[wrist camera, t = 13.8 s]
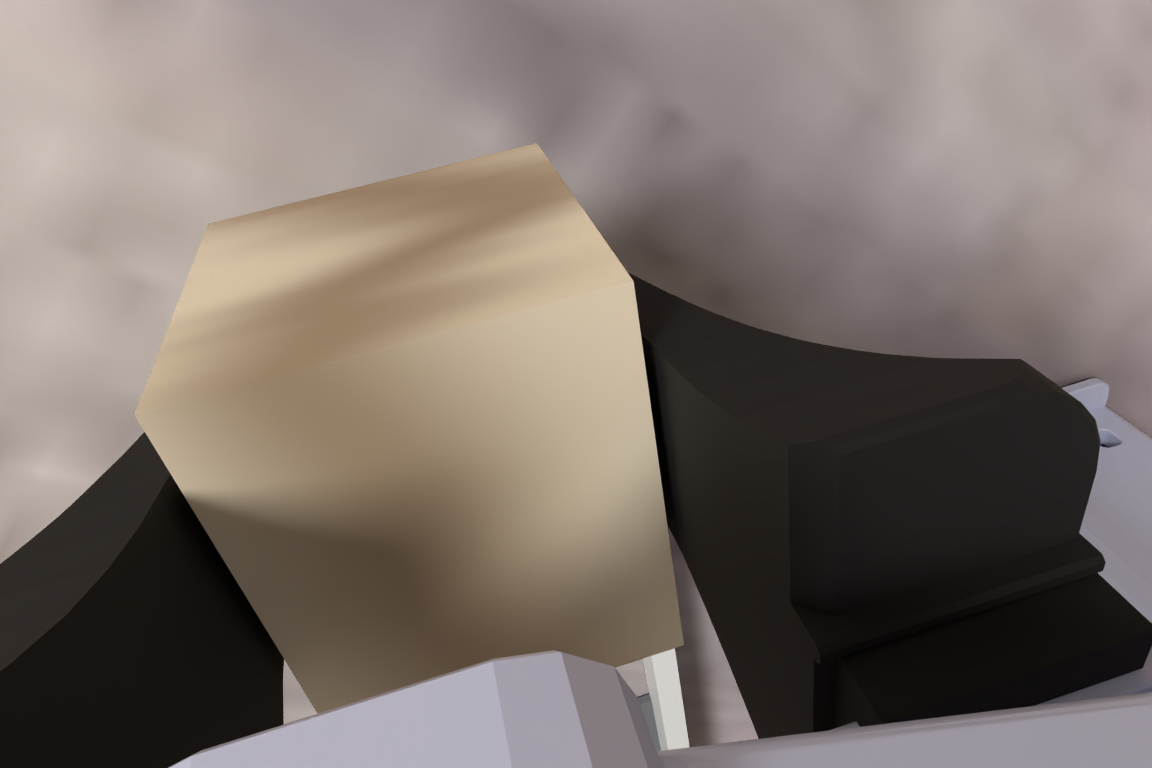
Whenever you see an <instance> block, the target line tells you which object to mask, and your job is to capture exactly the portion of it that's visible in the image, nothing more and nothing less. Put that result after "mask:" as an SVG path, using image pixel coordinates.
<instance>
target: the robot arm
mask: <svg viewBox="0 0 1152 768" xmlns="http://www.w3.org/2000/svg"><path fill="white" fill-rule="evenodd" d="M627 273H628V272H627ZM628 274H629V275H630V277H631V278H632V280H633V281H634V288H635V295H636V303H637V310H638V317H639V324H640V331H641V339H642V346H643V353H644V360H645V367H646V375H647V382H648V389H649V396H650V403H651V411H652V418H653V425H654V432H655V439H656V447H657V454H658V461H659V468H660V475H661V483H662V490H663V497H664V504H665V511H666V519H667V525H668V527H669V529H670V530H671V532H672V534H673V536H674V538H675V540H676V542H677V544H678V546H679V548H680V550H681V552H682V554H683V556H684V558H685V561H686V563H687V565H688V568H689V570H690V572H691V574H692V577H693V579H694V581H695V584H696V586H697V588H698V591H699V593H700V595H701V598H702V600H703V602H704V605H705V607H706V609H707V612H708V614H709V617H710V619H711V621H712V624H713V626H714V629H715V631H716V634H717V636H718V638H719V641H720V643H721V646H722V648H723V650H724V653H725V655H726V658H727V660H728V662H729V665H730V667H731V670H732V672H733V675H734V677H735V680H736V682H737V685H738V687H739V690H740V693H741V695H742V698H743V700H744V703H745V705H746V708H747V710H748V713H749V715H750V718H751V720H752V723H753V725H754V728H755V730H756V733H757V735H758V738H759V739H755V740H746V741H738V742H730V743H722V744H713V745H705V746H697V747H688V748H680V749H672V750H663V751H656V748H655V746H654V743H653V740H652V737H651V734H650V731H649V729H648V726H647V723H646V720H645V717H644V714H643V712H642V709H641V706H640V703H639V700H638V698H637V697H636V695H635V694H634V693H633V691H632V690H631V689H630V687H629V686H628V685H627V683H626V682H625V681H624V679H623V678H622V677H621V675H620V674H619V673H618V671H617V670H616V669H615V667H614V666H610V665H607V664H603V663H599V662H596V661H592V660H588V659H585V658H581V657H577V656H574V655H570V654H566V653H563V652H559V651H554V650H553V651H546V652H539V653H531V654H524V655H517V656H510V657H502V658H495V659H491V660H488V661H485V662H481V663H478V664H475V665H472V666H469V667H465V668H462V669H459V670H456V671H453V672H450V673H446V674H443V675H440V676H437V677H434V678H430V679H427V680H424V681H421V682H418V683H415V684H411V685H408V686H405V687H402V688H399V689H395V690H392V691H389V692H386V693H383V694H380V695H376V696H373V697H370V698H367V699H364V700H360V701H357V702H354V703H351V704H348V705H344V706H341V707H338V708H335V709H332V710H329V711H325V712H322V713H319V714H316V715H313V716H309V717H306V718H303V719H300V720H297V721H294V722H290V723H287V724H284V725H283V666H284V658H283V656H282V655H281V653H280V651H279V650H278V648H277V646H276V645H275V643H274V642H273V640H272V638H271V637H270V635H269V633H268V632H267V630H266V628H265V627H264V625H263V624H262V622H261V620H260V619H259V617H258V615H257V614H256V612H255V611H254V609H253V607H252V606H251V604H250V602H249V601H248V599H247V598H246V596H245V594H244V593H243V591H242V589H241V588H240V586H239V584H238V583H237V581H236V580H235V578H234V576H233V575H232V573H231V571H230V570H229V568H228V567H227V565H226V563H225V562H224V560H223V558H222V557H221V555H220V554H219V552H218V550H217V549H216V547H215V545H214V544H213V542H212V541H211V539H210V537H209V536H208V534H207V532H206V531H205V529H204V527H203V526H202V524H201V523H200V521H199V519H198V518H197V516H196V514H195V513H194V511H193V510H192V508H191V506H190V505H189V503H188V501H187V500H186V498H185V497H184V495H183V493H182V492H181V490H180V488H179V487H178V485H177V483H176V482H175V480H174V479H173V477H172V475H171V474H170V472H169V470H168V469H167V467H166V466H165V464H164V462H163V461H162V459H161V457H160V456H159V454H158V453H157V451H156V449H155V448H154V446H153V444H152V443H151V441H150V439H149V438H148V436H147V435H146V433H145V432H144V433H143V434H142V435H141V436H140V437H139V439H138V440H137V441H136V442H135V443H134V444H133V445H132V446H131V447H130V448H129V449H128V450H127V451H126V452H125V453H124V454H123V455H122V456H121V457H120V458H119V459H118V460H117V461H116V462H115V463H114V464H113V465H112V466H111V467H110V468H109V469H108V470H107V471H106V472H105V473H104V474H103V475H102V476H101V477H100V478H99V479H98V480H97V481H96V482H95V483H94V484H93V485H92V486H91V487H90V488H89V489H88V490H87V491H85V492H84V493H83V494H82V495H81V496H80V497H79V498H78V499H77V500H76V501H75V502H74V503H73V504H72V505H71V506H70V507H69V508H68V509H66V510H65V511H64V512H63V513H62V514H61V515H60V516H59V517H57V518H56V519H55V520H54V521H53V522H52V523H50V524H49V525H48V526H47V527H46V528H45V529H43V530H42V531H41V532H40V533H38V534H37V535H36V536H35V537H34V538H32V539H31V540H30V541H29V542H27V543H26V544H25V545H24V546H22V547H21V548H20V549H19V550H18V551H16V552H15V553H14V554H13V555H11V556H10V557H9V558H7V559H6V560H5V561H3V562H2V563H1V564H0V768H1152V439H1151V438H1150V437H1148V436H1147V435H1145V434H1144V433H1143V432H1141V431H1140V430H1138V429H1137V428H1135V427H1134V426H1133V425H1131V424H1130V423H1128V422H1127V421H1126V420H1124V419H1123V418H1121V417H1120V416H1118V415H1117V414H1116V413H1114V412H1113V411H1111V410H1110V409H1109V408H1107V407H1105V405H1106V402H1107V398H1108V395H1109V386H1108V384H1107V383H1105V382H1104V381H1102V380H1101V379H1098V378H1093V379H1089V380H1086V381H1082V382H1079V383H1076V384H1072V385H1069V386H1066V387H1062V388H1060V387H1059V386H1058V385H1056V384H1055V383H1054V382H1052V381H1051V380H1049V379H1048V378H1047V377H1045V376H1044V375H1043V374H1041V373H1040V372H1038V371H1037V370H1036V369H1034V368H1033V367H1031V366H1030V365H1029V364H1027V363H1026V362H1024V361H1023V360H1021V359H951V358H926V357H914V356H901V355H889V354H880V353H872V352H864V351H856V350H850V349H845V348H839V347H833V346H827V345H822V344H816V343H811V342H807V341H802V340H798V339H793V338H790V337H786V336H782V335H779V334H775V333H771V332H768V331H764V330H761V329H757V328H754V327H751V326H748V325H745V324H742V323H739V322H736V321H734V320H731V319H728V318H726V317H723V316H720V315H718V314H715V313H712V312H710V311H708V310H705V309H703V308H700V307H698V306H696V305H693V304H691V303H689V302H687V301H685V300H682V299H680V298H678V297H676V296H674V295H672V294H670V293H668V292H666V291H664V290H661V289H659V288H657V287H655V286H653V285H651V284H650V283H648V282H646V281H644V280H642V279H640V278H638V277H636V276H634V275H632V274H630V273H628Z"/></svg>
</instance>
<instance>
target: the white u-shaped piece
mask: <svg viewBox="0 0 1152 768" xmlns="http://www.w3.org/2000/svg"><path fill="white" fill-rule="evenodd" d="M643 664H644V669H645V675H646V680H647V685H648V690H649V694H647V695H644V696H641V697H638V700H639V703H640V706H641V709H642V712H643V714H644V717H645V720H646V723H647V726H648V729H649V731H650V734H651V737H652V740H653V743H654V746H655V748H656V751H663V750H672V749H680V748H688V747H689V740H688V733H687V727H686V720H685V713H684V707H683V700H682V693H681V687H680V680H679V673H678V667H677V660H676V653H675V648H674V649H671V650H668V651H665V652H662V653H659V654H655V655H652V656H649V657H646V658H643Z"/></svg>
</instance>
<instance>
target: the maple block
mask: <svg viewBox="0 0 1152 768" xmlns="http://www.w3.org/2000/svg"><path fill="white" fill-rule="evenodd" d="M135 417H136V418H137V420H138V422H139V423H140V425H141V426H142V428H143V430H144V431H145V433H146V435H147V436H148V438H149V439H150V441H151V443H152V444H153V446H154V448H155V449H156V451H157V453H158V454H159V456H160V457H161V459H162V461H163V462H164V464H165V466H166V467H167V469H168V470H169V472H170V474H171V475H172V477H173V479H174V480H175V482H176V483H177V485H178V487H179V488H180V490H181V492H182V493H183V495H184V497H185V498H186V500H187V501H188V503H189V505H190V506H191V508H192V510H193V511H194V513H195V514H196V516H197V518H198V519H199V521H200V523H201V524H202V526H203V527H204V529H205V531H206V532H207V534H208V536H209V537H210V539H211V541H212V542H213V544H214V545H215V547H216V549H217V550H218V552H219V554H220V555H221V557H222V558H223V560H224V562H225V563H226V565H227V567H228V568H229V570H230V571H231V573H232V575H233V576H234V578H235V580H236V581H237V583H238V584H239V586H240V588H241V589H242V591H243V593H244V594H245V596H246V598H247V599H248V601H249V602H250V604H251V606H252V607H253V609H254V611H255V612H256V614H257V615H258V617H259V619H260V620H261V622H262V624H263V625H264V627H265V628H266V630H267V632H268V633H269V635H270V637H271V638H272V640H273V642H274V643H275V645H276V646H277V648H278V650H279V651H280V653H281V655H282V656H283V658H284V659H285V661H286V663H287V664H288V666H289V668H290V669H291V671H292V672H293V674H294V676H295V677H296V679H297V681H298V682H299V684H300V686H301V687H302V689H303V690H304V692H305V694H306V695H307V697H308V699H309V700H310V702H311V703H312V705H313V707H314V708H315V710H316V712H317V713H318V714H319V713H322V712H325V711H329V710H332V709H335V708H338V707H341V706H344V705H348V704H351V703H354V702H357V701H360V700H364V699H367V698H370V697H373V696H376V695H380V694H383V693H386V692H389V691H392V690H395V689H399V688H402V687H405V686H408V685H411V684H415V683H418V682H421V681H424V680H427V679H430V678H434V677H437V676H440V675H443V674H446V673H450V672H453V671H456V670H459V669H462V668H465V667H469V666H472V665H475V664H478V663H481V662H485V661H488V660H491V659H495V658H502V657H510V656H517V655H524V654H531V653H539V652H546V651H553V650H554V651H559V652H563V653H566V654H570V655H574V656H577V657H581V658H585V659H588V660H592V661H596V662H599V663H603V664H607V665H610V666H614V667H618V666H621V665H624V664H627V663H631V662H634V661H637V660H640V659H643V658H646V657H649V656H652V655H655V654H659V653H662V652H665V651H668V650H671V649H674V648H677V647H680V646H684V641H683V634H682V627H681V619H680V612H679V605H678V598H677V591H676V583H675V576H674V569H673V562H672V555H671V547H670V540H669V533H668V526H667V519H666V511H665V504H664V497H663V490H662V483H661V475H660V468H659V461H658V454H657V447H656V439H655V432H654V425H653V418H652V411H651V403H650V396H649V389H648V382H647V375H646V367H645V360H644V353H643V346H642V339H641V331H640V324H639V317H638V310H637V303H636V295H635V288H634V281H633V280H632V278H631V277H630V275H629V274H628V273H627V271H626V270H625V268H624V267H623V265H622V264H621V263H620V261H619V260H618V258H617V257H616V255H615V254H614V253H613V251H612V250H611V248H610V247H609V245H608V244H607V243H606V241H605V240H604V238H603V237H602V235H601V234H600V233H599V231H598V230H597V228H596V227H595V225H594V224H593V223H592V221H591V220H590V218H589V217H588V215H587V214H586V213H585V211H584V210H583V208H582V207H581V205H580V204H579V203H578V201H577V200H576V198H575V197H574V195H573V194H572V193H571V191H570V190H569V188H568V187H567V185H566V184H565V183H564V181H563V180H562V178H561V177H560V175H559V174H558V173H557V171H556V170H555V168H554V167H553V165H552V164H551V163H550V161H549V160H548V158H547V157H546V155H545V154H544V153H543V151H542V150H541V148H540V147H539V145H538V144H537V143H535V144H531V145H527V146H523V147H519V148H515V149H511V150H507V151H503V152H499V153H495V154H491V155H487V156H483V157H478V158H474V159H470V160H466V161H462V162H458V163H454V164H450V165H446V166H442V167H438V168H434V169H430V170H426V171H421V172H417V173H413V174H409V175H405V176H401V177H397V178H393V179H389V180H385V181H381V182H377V183H373V184H369V185H365V186H360V187H356V188H352V189H348V190H344V191H340V192H336V193H332V194H328V195H324V196H320V197H316V198H312V199H308V200H303V201H299V202H295V203H291V204H287V205H283V206H279V207H275V208H271V209H267V210H263V211H259V212H255V213H251V214H246V215H242V216H238V217H234V218H230V219H226V220H222V221H218V222H214V223H210V224H208V226H207V229H206V231H205V234H204V237H203V239H202V242H201V244H200V247H199V250H198V252H197V255H196V257H195V260H194V262H193V265H192V268H191V270H190V273H189V275H188V278H187V280H186V283H185V286H184V288H183V291H182V293H181V296H180V299H179V301H178V304H177V306H176V309H175V311H174V314H173V317H172V319H171V322H170V324H169V327H168V330H167V332H166V335H165V337H164V340H163V342H162V345H161V348H160V350H159V353H158V355H157V358H156V360H155V363H154V366H153V368H152V371H151V373H150V376H149V379H148V381H147V384H146V386H145V389H144V391H143V394H142V397H141V399H140V402H139V404H138V407H137V410H136V412H135Z"/></svg>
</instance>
